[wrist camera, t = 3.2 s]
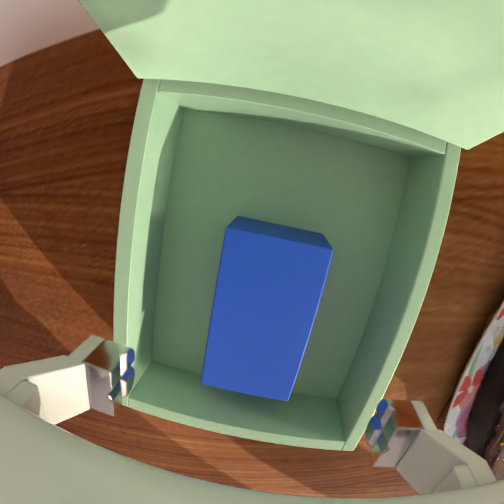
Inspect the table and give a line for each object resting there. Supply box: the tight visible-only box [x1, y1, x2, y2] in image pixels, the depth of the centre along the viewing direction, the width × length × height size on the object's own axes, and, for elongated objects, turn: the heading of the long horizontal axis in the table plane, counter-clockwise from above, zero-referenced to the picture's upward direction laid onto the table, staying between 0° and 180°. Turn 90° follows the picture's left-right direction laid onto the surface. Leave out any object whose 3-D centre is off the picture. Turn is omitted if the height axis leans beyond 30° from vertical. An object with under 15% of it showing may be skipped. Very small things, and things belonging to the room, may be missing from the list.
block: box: [201, 216, 333, 401], centre depth 16 cm, size 8×4×4 cm, turn 169°
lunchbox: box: [113, 79, 461, 451], centre depth 16 cm, size 17×14×5 cm
